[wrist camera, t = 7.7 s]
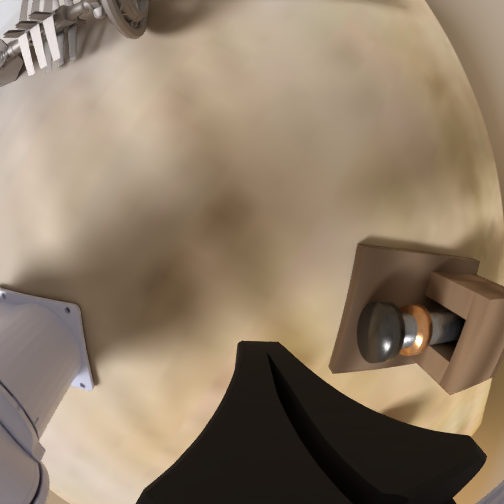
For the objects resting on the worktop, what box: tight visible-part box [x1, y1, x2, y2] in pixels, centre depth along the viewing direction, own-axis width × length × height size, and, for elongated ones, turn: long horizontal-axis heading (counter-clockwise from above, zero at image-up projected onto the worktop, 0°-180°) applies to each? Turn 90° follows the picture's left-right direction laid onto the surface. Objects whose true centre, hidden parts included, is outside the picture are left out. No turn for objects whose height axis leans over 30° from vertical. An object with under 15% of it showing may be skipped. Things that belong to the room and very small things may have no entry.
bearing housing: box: [329, 244, 504, 395], centre depth 17 cm, size 14×10×8 cm
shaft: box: [357, 302, 466, 363], centre depth 17 cm, size 12×4×4 cm, turn 83°
